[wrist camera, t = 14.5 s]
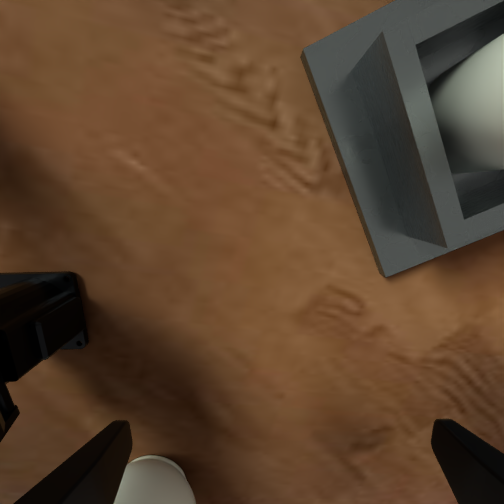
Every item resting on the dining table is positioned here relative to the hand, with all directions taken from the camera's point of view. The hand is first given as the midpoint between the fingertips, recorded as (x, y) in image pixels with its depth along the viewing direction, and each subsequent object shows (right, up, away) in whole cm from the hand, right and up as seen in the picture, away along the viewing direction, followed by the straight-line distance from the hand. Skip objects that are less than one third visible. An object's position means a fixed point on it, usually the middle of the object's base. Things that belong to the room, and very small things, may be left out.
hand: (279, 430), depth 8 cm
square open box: (+13, +14, +10) cm, 21 cm away
